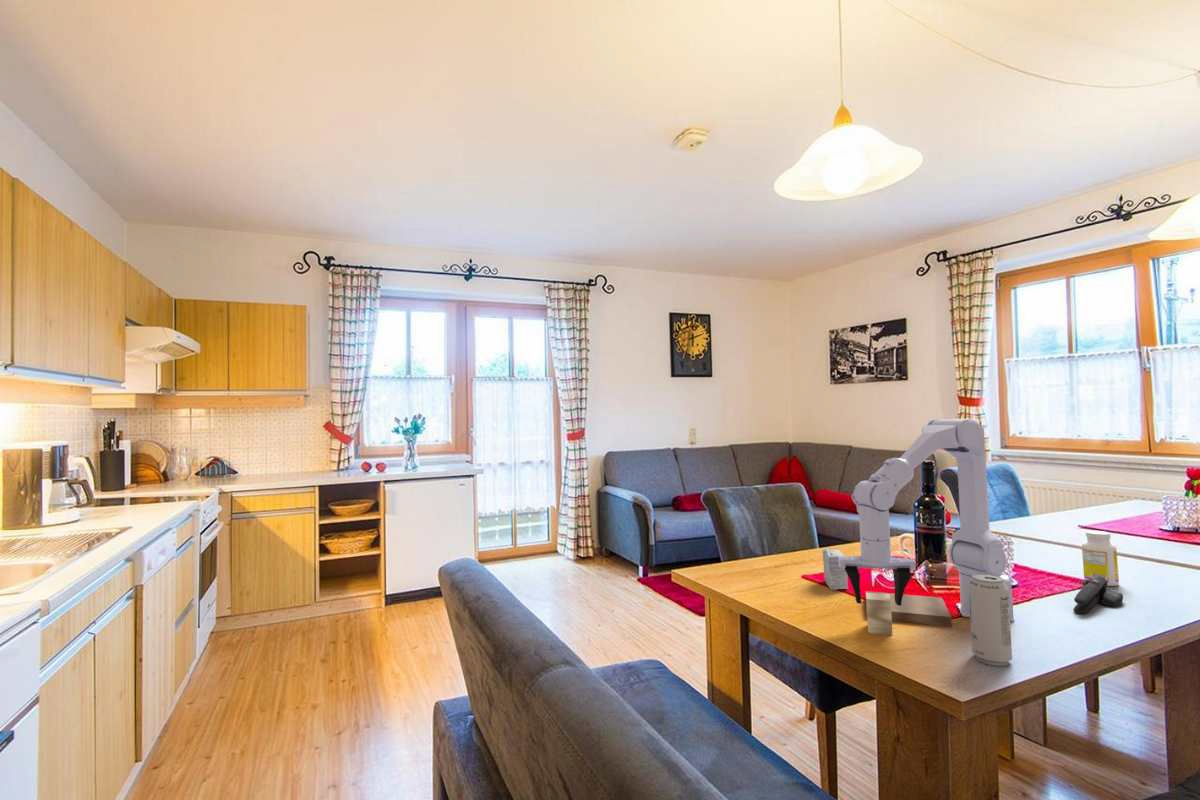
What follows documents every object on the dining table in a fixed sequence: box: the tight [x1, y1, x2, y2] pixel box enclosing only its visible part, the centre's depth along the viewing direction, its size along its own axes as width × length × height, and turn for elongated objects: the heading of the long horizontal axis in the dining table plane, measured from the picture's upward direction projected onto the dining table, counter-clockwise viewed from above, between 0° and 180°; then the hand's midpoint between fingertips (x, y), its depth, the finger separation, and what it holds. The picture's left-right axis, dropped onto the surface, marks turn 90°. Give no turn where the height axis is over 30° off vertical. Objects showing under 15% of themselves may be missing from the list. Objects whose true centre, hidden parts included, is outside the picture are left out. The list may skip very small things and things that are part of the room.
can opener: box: [1073, 577, 1124, 616], centre depth 126 cm, size 18×7×6 cm, turn 121°
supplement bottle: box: [1081, 530, 1120, 587], centre depth 142 cm, size 7×7×13 cm
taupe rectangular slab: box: [865, 591, 953, 627], centre depth 127 cm, size 16×13×2 cm
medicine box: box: [822, 549, 849, 591], centre depth 148 cm, size 8×4×9 cm, turn 168°
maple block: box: [865, 591, 893, 636], centre depth 118 cm, size 4×4×7 cm
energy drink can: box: [968, 574, 1013, 667], centre depth 102 cm, size 6×6×15 cm
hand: (878, 602), depth 118 cm, fingers open, 7 cm apart
